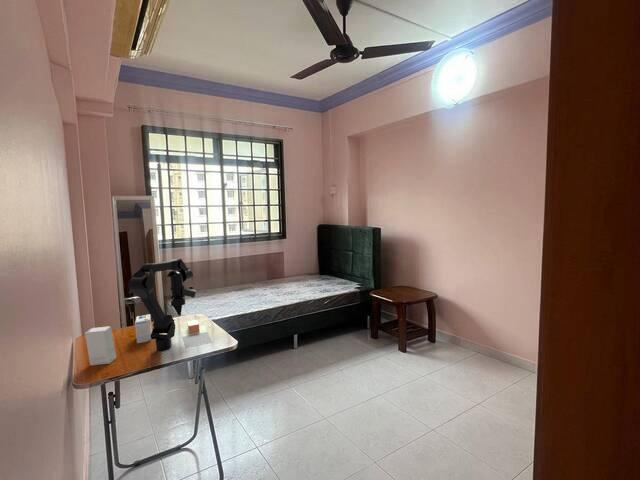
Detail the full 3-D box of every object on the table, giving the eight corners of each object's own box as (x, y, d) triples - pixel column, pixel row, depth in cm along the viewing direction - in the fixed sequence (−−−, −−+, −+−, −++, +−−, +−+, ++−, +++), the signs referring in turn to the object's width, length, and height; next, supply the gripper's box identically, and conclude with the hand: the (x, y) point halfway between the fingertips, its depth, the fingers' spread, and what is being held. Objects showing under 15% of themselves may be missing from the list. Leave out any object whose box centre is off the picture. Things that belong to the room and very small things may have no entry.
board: (212, 344, 158) (212, 342, 158) (185, 350, 153) (185, 348, 153) (204, 327, 184) (204, 324, 183) (180, 331, 178) (180, 329, 178)
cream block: (198, 324, 173) (197, 319, 181) (188, 326, 170) (187, 321, 178) (199, 332, 173) (197, 326, 181) (189, 334, 171) (187, 328, 179)
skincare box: (116, 358, 149) (112, 325, 148) (109, 364, 143) (104, 330, 142) (97, 359, 149) (93, 326, 147) (88, 366, 143) (84, 332, 141)
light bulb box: (138, 336, 175) (135, 316, 174) (152, 333, 177) (150, 313, 176) (136, 343, 165) (134, 322, 164) (152, 340, 168) (149, 319, 167)
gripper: (195, 285, 160) (198, 318, 161) (193, 278, 177) (196, 308, 178) (169, 289, 155) (172, 322, 157) (170, 281, 173) (173, 311, 174)
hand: (179, 315), depth 167 cm, fingers closed
